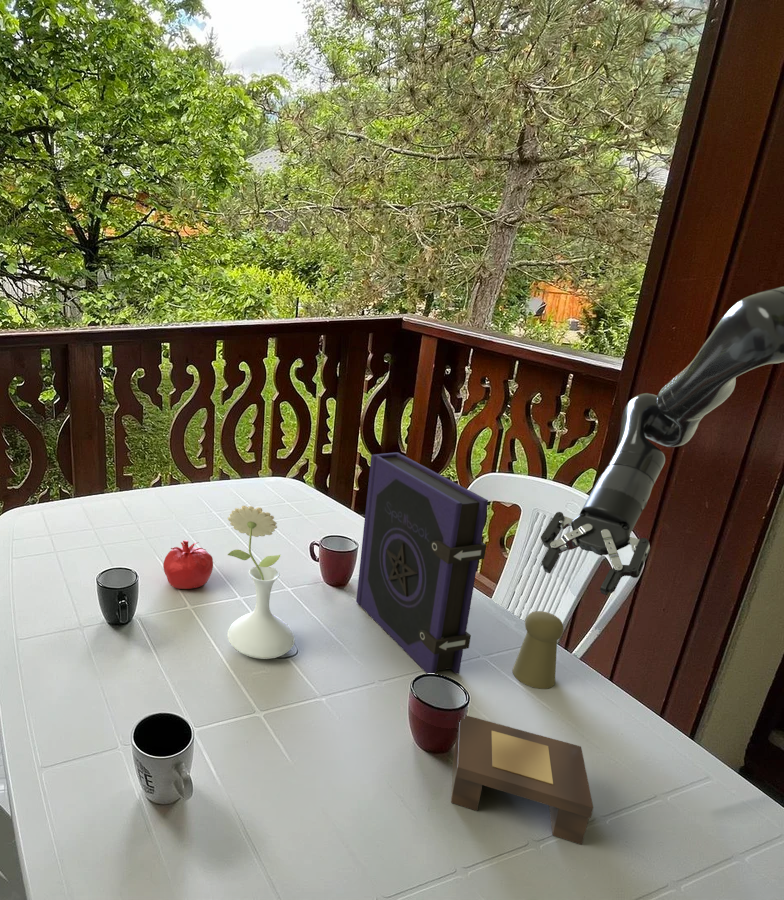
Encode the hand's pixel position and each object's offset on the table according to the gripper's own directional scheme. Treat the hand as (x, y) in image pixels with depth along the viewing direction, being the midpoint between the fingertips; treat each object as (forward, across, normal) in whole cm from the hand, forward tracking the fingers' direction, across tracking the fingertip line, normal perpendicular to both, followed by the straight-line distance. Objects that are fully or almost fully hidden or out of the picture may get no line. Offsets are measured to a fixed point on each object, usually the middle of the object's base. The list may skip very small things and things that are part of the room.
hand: (573, 581), depth 102 cm
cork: (+16, 0, +4) cm, 17 cm away
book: (+21, -19, -1) cm, 28 cm away
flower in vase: (+37, -33, -16) cm, 52 cm away
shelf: (+34, +9, -14) cm, 38 cm away
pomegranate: (+34, -57, -14) cm, 68 cm away
